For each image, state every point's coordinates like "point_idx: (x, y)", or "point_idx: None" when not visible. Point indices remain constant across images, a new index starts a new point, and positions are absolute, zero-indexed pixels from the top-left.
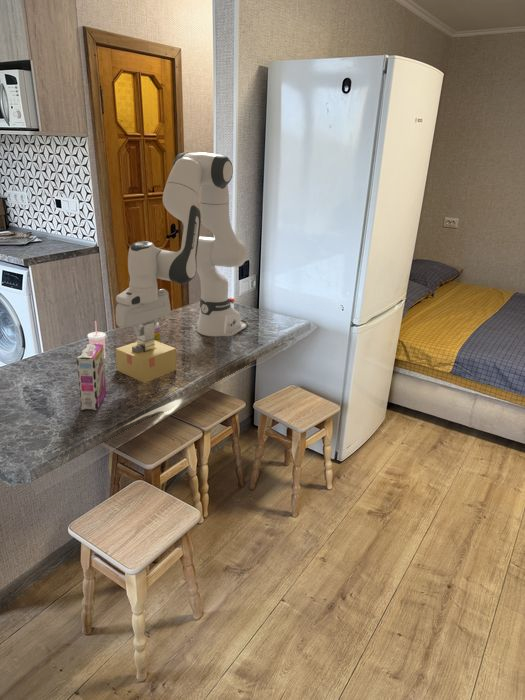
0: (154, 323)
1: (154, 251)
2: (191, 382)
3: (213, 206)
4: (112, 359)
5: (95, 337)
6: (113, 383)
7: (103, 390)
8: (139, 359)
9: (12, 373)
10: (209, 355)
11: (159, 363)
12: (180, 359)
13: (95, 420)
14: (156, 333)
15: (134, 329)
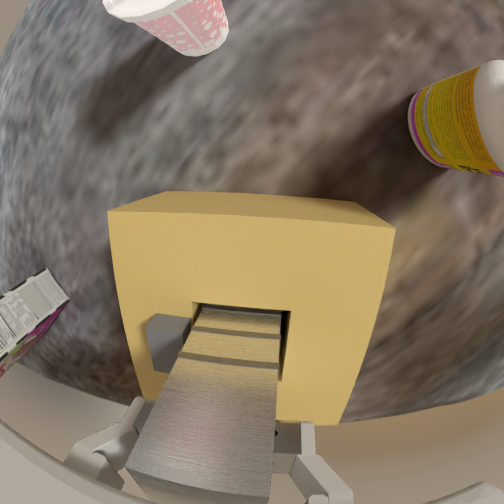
0: (308, 495)
1: None
2: None
3: None
4: (231, 77)
5: (114, 8)
6: (104, 269)
7: (46, 326)
8: (141, 382)
9: (16, 35)
10: (469, 345)
11: None
12: (413, 307)
13: (38, 351)
14: (492, 174)
15: (105, 434)
